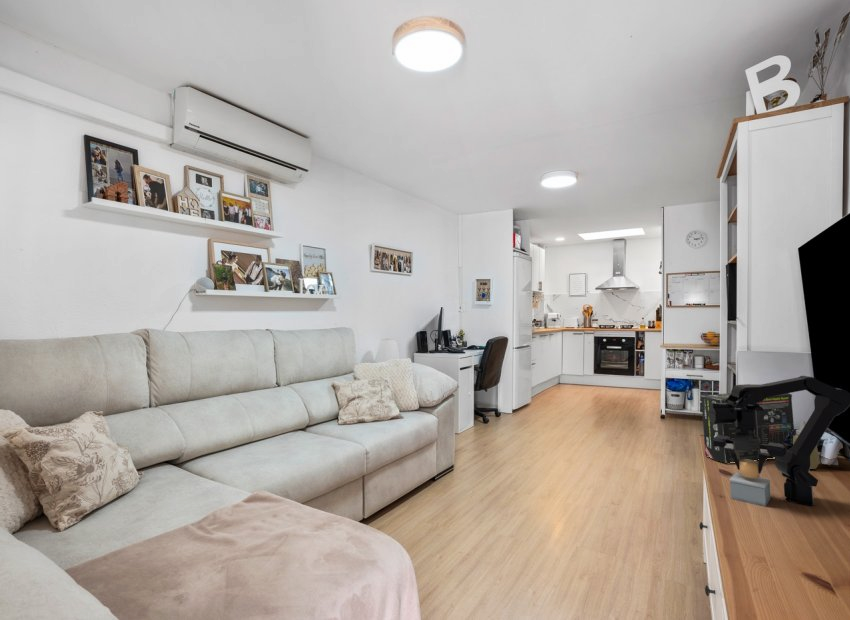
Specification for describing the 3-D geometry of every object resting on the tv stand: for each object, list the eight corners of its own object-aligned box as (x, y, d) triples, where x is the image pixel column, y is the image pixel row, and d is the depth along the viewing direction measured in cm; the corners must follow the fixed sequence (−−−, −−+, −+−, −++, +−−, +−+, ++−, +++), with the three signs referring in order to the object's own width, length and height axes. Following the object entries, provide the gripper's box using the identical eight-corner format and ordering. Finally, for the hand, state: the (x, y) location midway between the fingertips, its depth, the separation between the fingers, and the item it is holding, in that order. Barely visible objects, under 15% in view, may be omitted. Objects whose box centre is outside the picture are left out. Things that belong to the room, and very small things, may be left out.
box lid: (770, 481, 139) (769, 479, 139) (764, 488, 132) (764, 486, 132) (735, 474, 145) (735, 472, 145) (729, 481, 139) (729, 479, 139)
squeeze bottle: (787, 466, 167) (785, 420, 167) (799, 463, 170) (796, 418, 170) (813, 472, 159) (810, 424, 160) (824, 469, 162) (821, 422, 163)
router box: (772, 450, 187) (769, 389, 188) (798, 457, 176) (794, 393, 177) (702, 456, 182) (698, 394, 183) (724, 465, 171) (720, 398, 172)
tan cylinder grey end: (761, 475, 139) (760, 461, 139) (757, 479, 135) (757, 464, 135) (741, 471, 143) (740, 457, 143) (738, 475, 139) (737, 461, 139)
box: (770, 498, 139) (769, 481, 139) (765, 506, 132) (764, 489, 133) (737, 490, 145) (736, 474, 145) (731, 498, 139) (730, 481, 139)
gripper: (706, 424, 141) (709, 471, 140) (778, 433, 127) (782, 485, 127) (715, 418, 149) (718, 463, 148) (784, 426, 135) (787, 475, 134)
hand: (749, 471), depth 139 cm, fingers closed on tan cylinder grey end, 5 cm apart
